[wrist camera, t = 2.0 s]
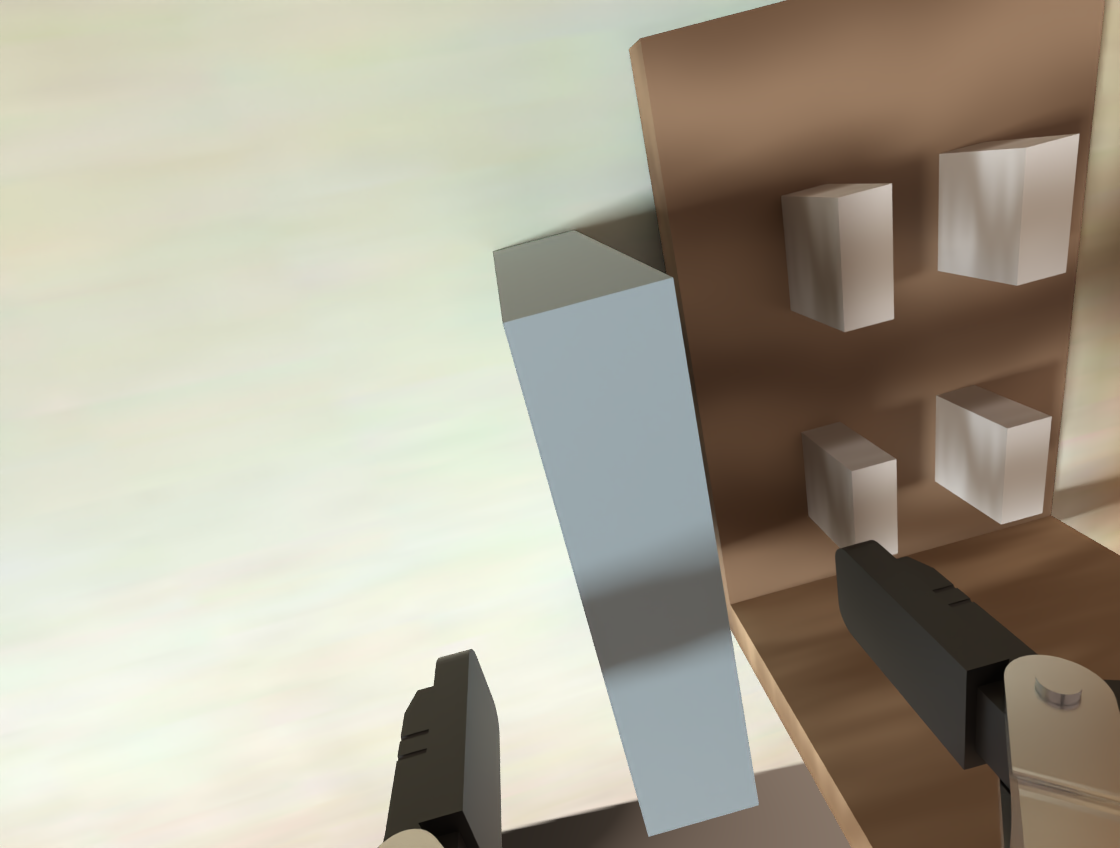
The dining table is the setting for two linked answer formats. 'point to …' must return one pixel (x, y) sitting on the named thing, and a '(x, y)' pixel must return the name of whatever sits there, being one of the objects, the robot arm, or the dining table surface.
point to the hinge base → (882, 348)
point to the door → (633, 513)
